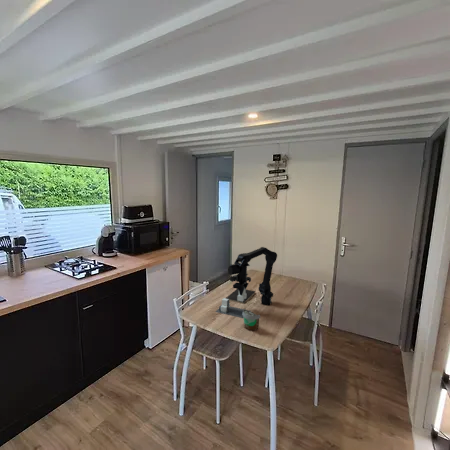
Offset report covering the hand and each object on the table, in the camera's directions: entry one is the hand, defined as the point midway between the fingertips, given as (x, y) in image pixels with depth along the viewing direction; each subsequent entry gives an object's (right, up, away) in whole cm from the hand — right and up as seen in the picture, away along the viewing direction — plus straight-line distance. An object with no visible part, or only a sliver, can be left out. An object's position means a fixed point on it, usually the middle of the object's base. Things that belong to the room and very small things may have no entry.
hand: (242, 294), depth 177 cm
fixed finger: (-12, -11, +2) cm, 16 cm away
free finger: (0, -4, +1) cm, 4 cm away
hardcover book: (+1, -9, +25) cm, 27 cm away
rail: (-6, -12, 0) cm, 14 cm away
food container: (+3, -15, -21) cm, 26 cm away
